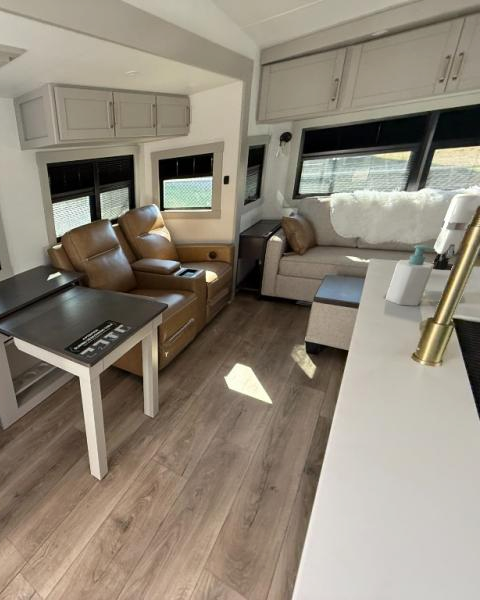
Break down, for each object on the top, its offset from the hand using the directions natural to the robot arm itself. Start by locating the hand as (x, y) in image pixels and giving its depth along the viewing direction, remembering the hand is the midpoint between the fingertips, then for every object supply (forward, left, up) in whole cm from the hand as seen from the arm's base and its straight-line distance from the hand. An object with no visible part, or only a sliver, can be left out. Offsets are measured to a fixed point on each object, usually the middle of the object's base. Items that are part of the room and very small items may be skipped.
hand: (438, 268), depth 137 cm
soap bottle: (+15, +31, -6) cm, 35 cm away
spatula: (+2, 0, -1) cm, 2 cm away
